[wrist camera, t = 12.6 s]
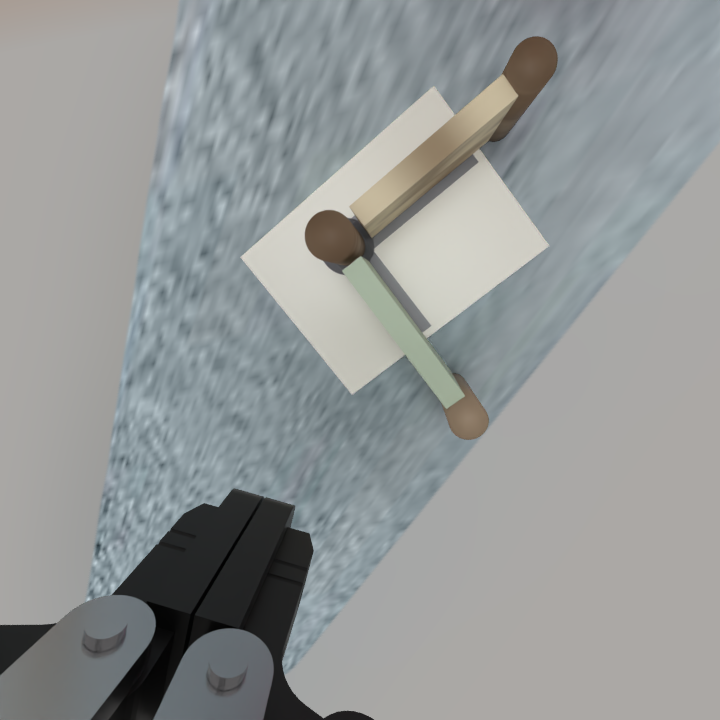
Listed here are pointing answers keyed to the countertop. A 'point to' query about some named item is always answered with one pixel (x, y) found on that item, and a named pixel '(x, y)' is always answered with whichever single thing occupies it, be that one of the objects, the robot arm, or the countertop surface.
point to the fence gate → (420, 352)
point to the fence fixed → (437, 154)
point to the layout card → (397, 249)
